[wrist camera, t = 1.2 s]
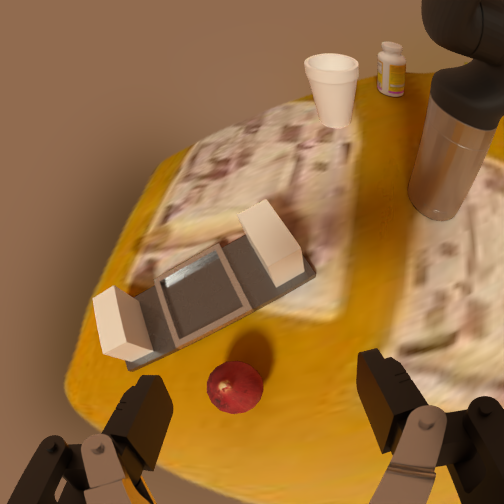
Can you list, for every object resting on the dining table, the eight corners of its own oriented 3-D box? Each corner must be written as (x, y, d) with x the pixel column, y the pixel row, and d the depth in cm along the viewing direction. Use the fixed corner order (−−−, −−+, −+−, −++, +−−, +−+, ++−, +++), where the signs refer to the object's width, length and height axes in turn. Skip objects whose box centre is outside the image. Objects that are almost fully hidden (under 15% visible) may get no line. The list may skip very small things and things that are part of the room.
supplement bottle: (408, 92, 49) (411, 47, 38) (395, 100, 48) (399, 51, 37) (385, 82, 52) (386, 38, 41) (371, 90, 51) (371, 42, 40)
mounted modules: (273, 224, 38) (264, 197, 33) (304, 271, 34) (301, 248, 28) (118, 310, 37) (92, 296, 32) (131, 361, 33) (103, 353, 28)
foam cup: (306, 111, 51) (298, 56, 40) (347, 104, 50) (345, 51, 38) (320, 136, 46) (314, 75, 35) (365, 129, 45) (367, 70, 34)
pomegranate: (246, 420, 27) (225, 429, 20) (211, 390, 30) (181, 388, 23) (278, 384, 29) (266, 382, 22) (240, 355, 31) (218, 344, 25)
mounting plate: (276, 220, 39) (274, 212, 38) (316, 278, 34) (316, 272, 32) (116, 309, 38) (108, 305, 37) (133, 373, 33) (124, 371, 31)
